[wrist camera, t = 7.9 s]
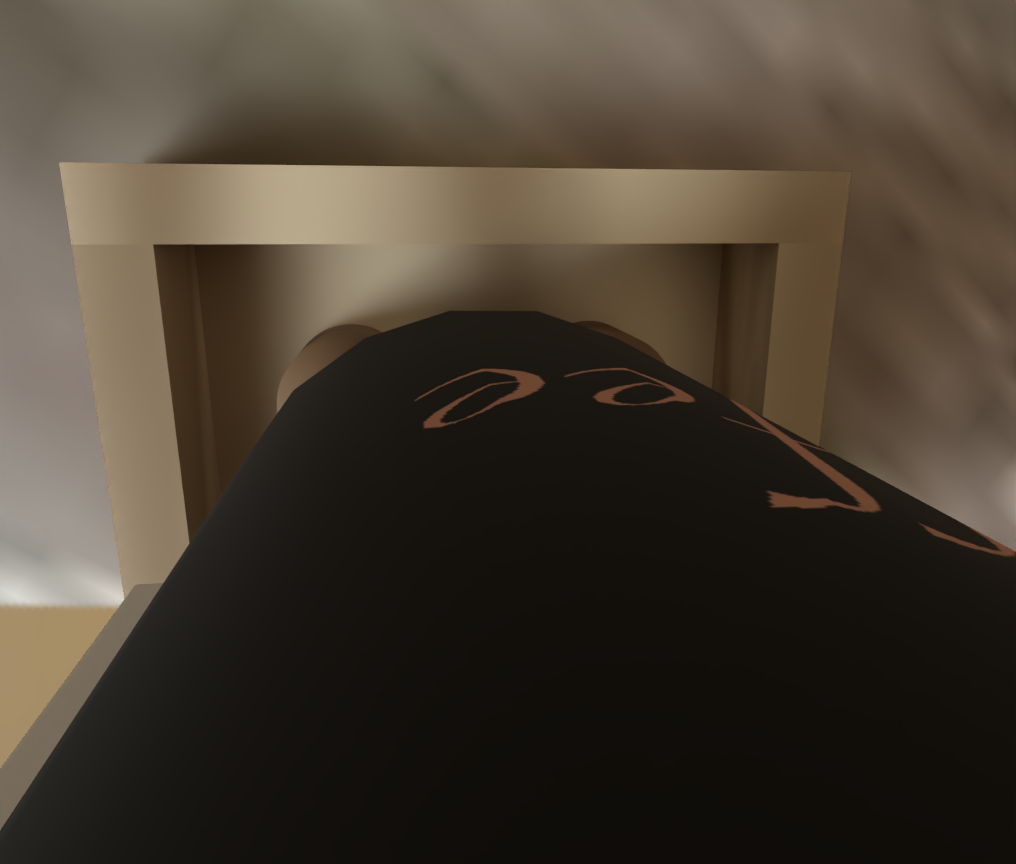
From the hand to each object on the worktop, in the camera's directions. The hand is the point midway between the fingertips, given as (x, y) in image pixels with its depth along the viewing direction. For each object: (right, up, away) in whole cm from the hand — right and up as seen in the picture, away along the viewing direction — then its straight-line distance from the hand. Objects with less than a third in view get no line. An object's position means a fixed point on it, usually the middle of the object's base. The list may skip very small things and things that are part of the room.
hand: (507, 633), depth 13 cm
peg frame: (-1, +2, +8) cm, 8 cm away
